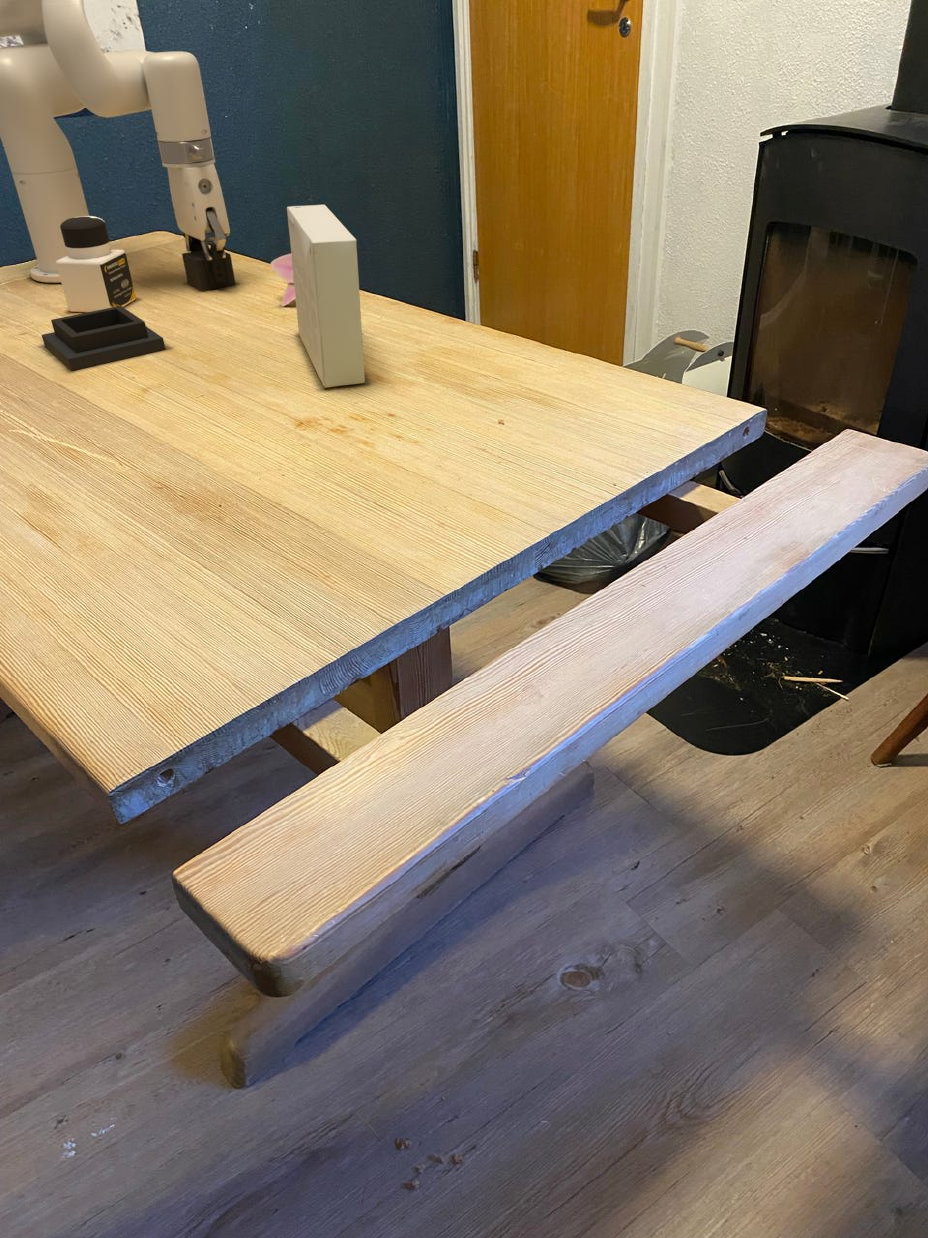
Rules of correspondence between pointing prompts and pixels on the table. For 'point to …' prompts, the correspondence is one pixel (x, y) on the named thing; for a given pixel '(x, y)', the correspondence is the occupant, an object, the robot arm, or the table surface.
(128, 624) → the table surface
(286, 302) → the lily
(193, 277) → the black block
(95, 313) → the base pad
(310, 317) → the skincare box
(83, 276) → the medicine bottle
